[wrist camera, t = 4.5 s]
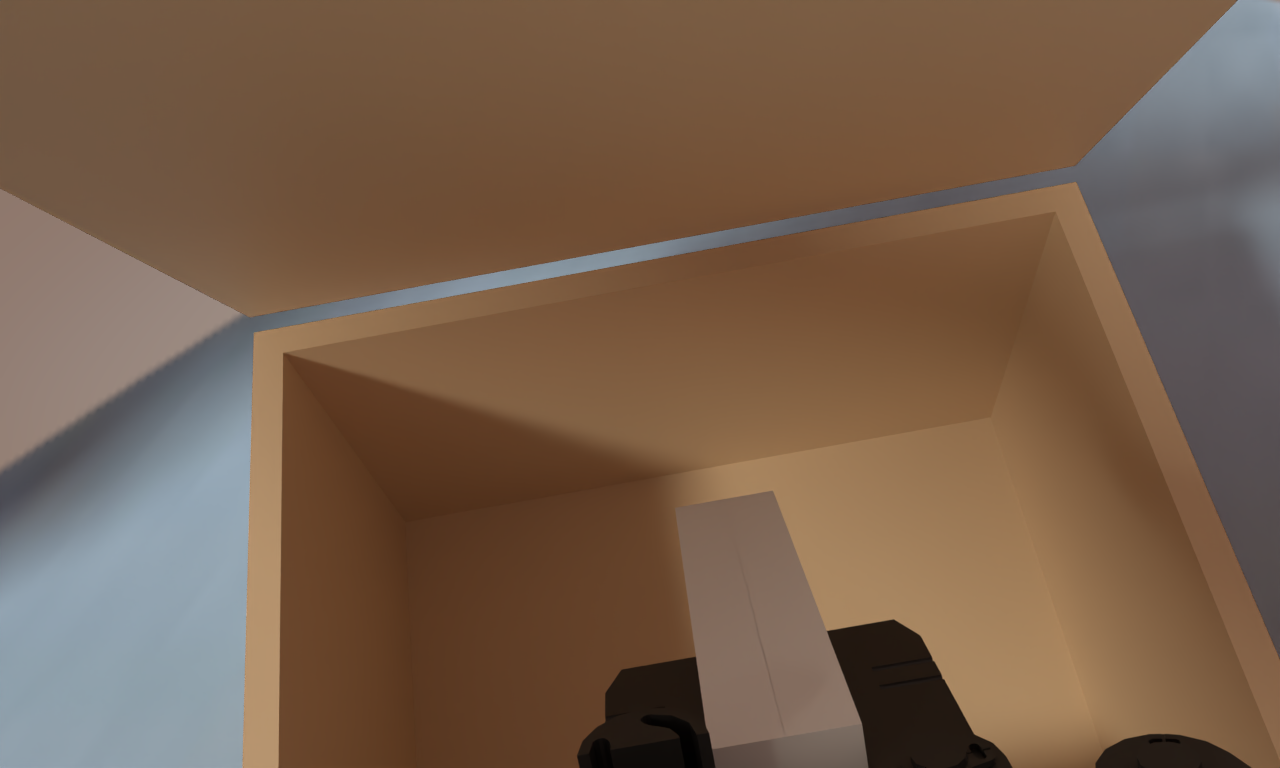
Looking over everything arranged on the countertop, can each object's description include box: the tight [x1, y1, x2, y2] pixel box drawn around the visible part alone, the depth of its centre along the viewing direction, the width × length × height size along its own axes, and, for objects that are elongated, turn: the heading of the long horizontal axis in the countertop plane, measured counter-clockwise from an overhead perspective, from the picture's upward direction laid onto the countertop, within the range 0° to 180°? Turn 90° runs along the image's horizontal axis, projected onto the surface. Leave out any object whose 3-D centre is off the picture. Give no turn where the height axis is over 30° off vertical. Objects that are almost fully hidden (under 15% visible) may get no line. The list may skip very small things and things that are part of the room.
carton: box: [243, 182, 1280, 768], centre depth 32 cm, size 18×22×12 cm
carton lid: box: [0, 0, 1237, 317], centre depth 22 cm, size 18×22×1 cm
